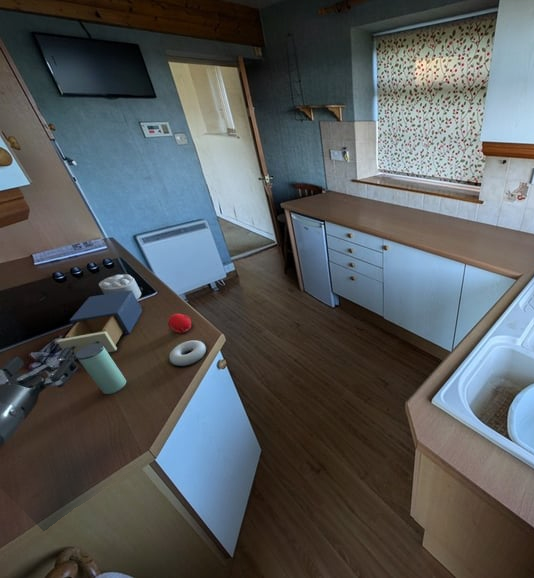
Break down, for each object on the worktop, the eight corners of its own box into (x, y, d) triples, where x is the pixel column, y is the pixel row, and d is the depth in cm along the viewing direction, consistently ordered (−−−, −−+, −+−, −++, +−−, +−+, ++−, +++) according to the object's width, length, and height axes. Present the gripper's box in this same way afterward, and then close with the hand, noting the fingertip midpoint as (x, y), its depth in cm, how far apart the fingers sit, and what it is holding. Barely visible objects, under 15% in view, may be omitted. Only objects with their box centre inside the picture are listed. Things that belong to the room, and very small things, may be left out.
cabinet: (129, 333, 103) (117, 312, 98) (84, 342, 99) (69, 320, 94) (142, 310, 114) (132, 290, 110) (102, 317, 111) (89, 296, 106)
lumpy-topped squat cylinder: (132, 287, 129) (123, 269, 124) (147, 295, 123) (138, 277, 119) (103, 298, 121) (93, 280, 117) (118, 307, 116) (107, 289, 111)
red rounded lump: (198, 327, 106) (192, 314, 103) (182, 337, 102) (176, 323, 98) (183, 321, 109) (177, 308, 106) (167, 330, 104) (161, 317, 101)
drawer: (108, 363, 90) (96, 345, 86) (60, 373, 86) (45, 354, 82) (130, 325, 105) (120, 309, 101) (90, 332, 101) (78, 315, 98)
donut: (185, 372, 88) (214, 351, 96) (181, 364, 87) (210, 343, 94) (164, 362, 92) (193, 342, 100) (160, 354, 90) (190, 334, 98)
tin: (98, 396, 81) (70, 360, 73) (106, 381, 85) (81, 345, 78) (122, 390, 82) (97, 354, 75) (129, 376, 87) (106, 341, 79)
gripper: (-50, 445, 50) (13, 376, 63) (57, 419, 54) (95, 359, 67) (-86, 418, 46) (-12, 350, 59) (32, 392, 50) (77, 334, 63)
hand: (45, 355), depth 63 cm, fingers open, 8 cm apart
